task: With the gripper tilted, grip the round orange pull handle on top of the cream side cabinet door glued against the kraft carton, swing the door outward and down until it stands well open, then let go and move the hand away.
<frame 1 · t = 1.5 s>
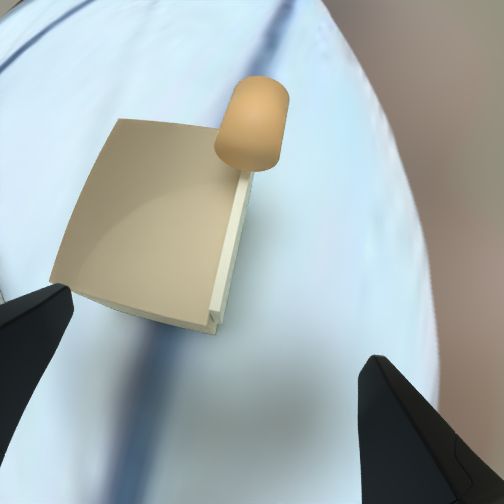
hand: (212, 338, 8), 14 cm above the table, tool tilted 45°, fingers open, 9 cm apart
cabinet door: (237, 215, 13), point 10 cm above the table, hinge at 0.0°
kraft carton: (178, 259, 22), on the table
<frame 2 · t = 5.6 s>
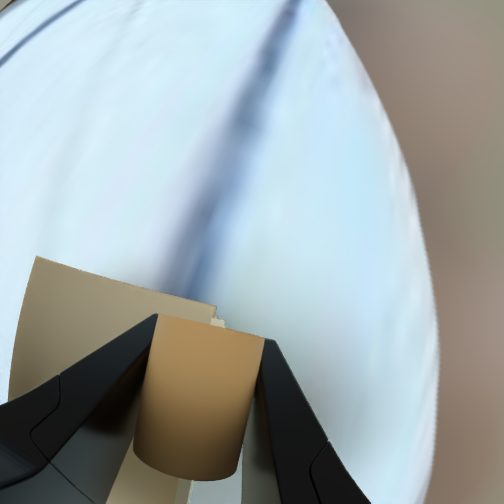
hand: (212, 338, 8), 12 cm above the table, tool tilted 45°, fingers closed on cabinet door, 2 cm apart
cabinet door: (193, 443, 8), point 10 cm above the table, hinge at 0.0°, touching gripper
kraft carton: (147, 381, 18), on the table
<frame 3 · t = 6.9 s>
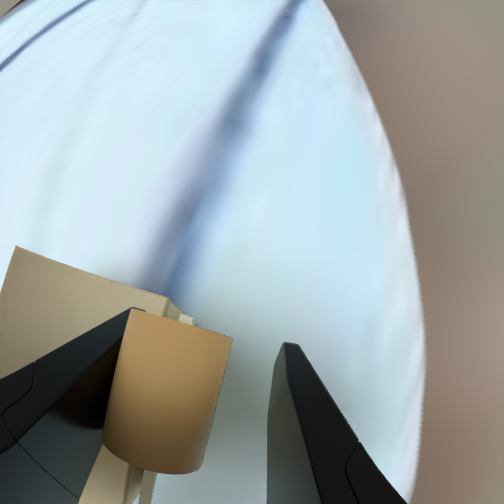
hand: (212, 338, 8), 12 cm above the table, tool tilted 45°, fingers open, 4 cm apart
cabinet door: (158, 437, 8), point 10 cm above the table, hinge at 8.1°, touching gripper
kraft carton: (124, 374, 18), on the table
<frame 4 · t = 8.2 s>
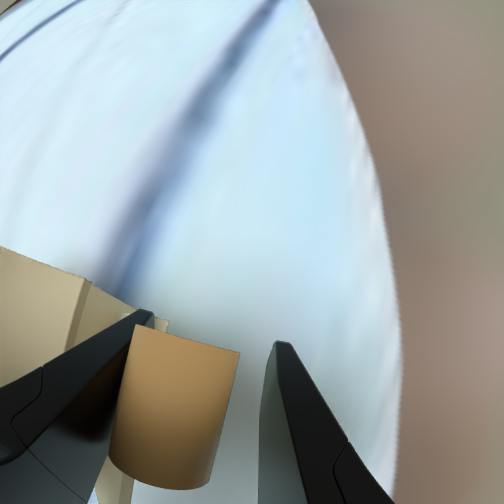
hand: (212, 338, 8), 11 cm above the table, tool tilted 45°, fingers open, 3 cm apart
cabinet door: (123, 439, 8), point 9 cm above the table, hinge at 31.0°, touching gripper
kraft carton: (79, 367, 16), on the table
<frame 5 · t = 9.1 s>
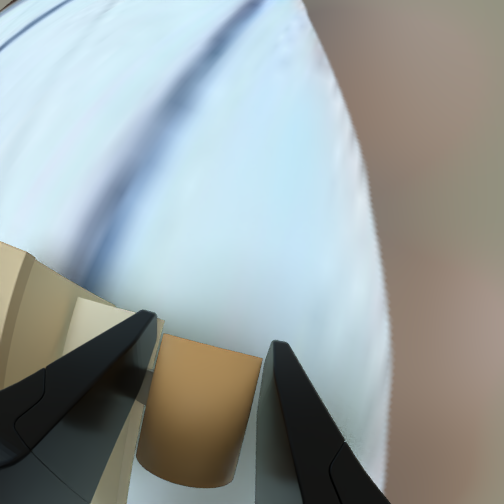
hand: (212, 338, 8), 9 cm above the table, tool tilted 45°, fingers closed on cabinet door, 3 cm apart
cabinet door: (107, 438, 7), point 8 cm above the table, hinge at 52.8°, touching gripper
kraft carton: (47, 358, 15), on the table
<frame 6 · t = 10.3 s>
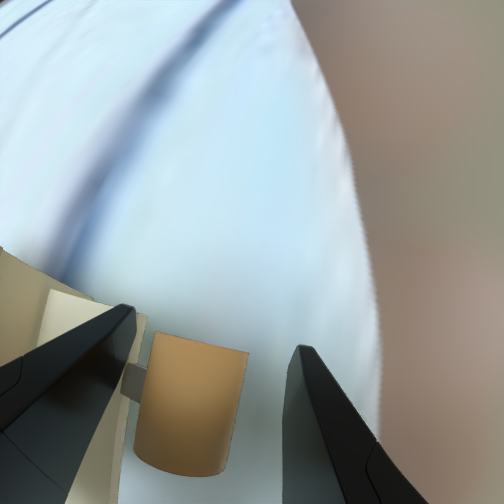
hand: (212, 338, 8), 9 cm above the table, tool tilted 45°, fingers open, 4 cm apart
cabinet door: (92, 434, 7), point 7 cm above the table, hinge at 61.9°
kraft carton: (28, 354, 14), on the table
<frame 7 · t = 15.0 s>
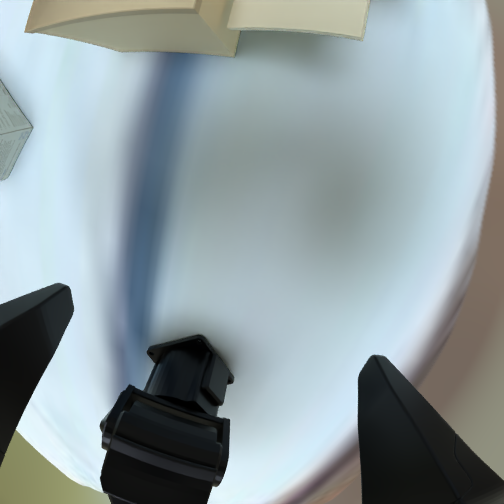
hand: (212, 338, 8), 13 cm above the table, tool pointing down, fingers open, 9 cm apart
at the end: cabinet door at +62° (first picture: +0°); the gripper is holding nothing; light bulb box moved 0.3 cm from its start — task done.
